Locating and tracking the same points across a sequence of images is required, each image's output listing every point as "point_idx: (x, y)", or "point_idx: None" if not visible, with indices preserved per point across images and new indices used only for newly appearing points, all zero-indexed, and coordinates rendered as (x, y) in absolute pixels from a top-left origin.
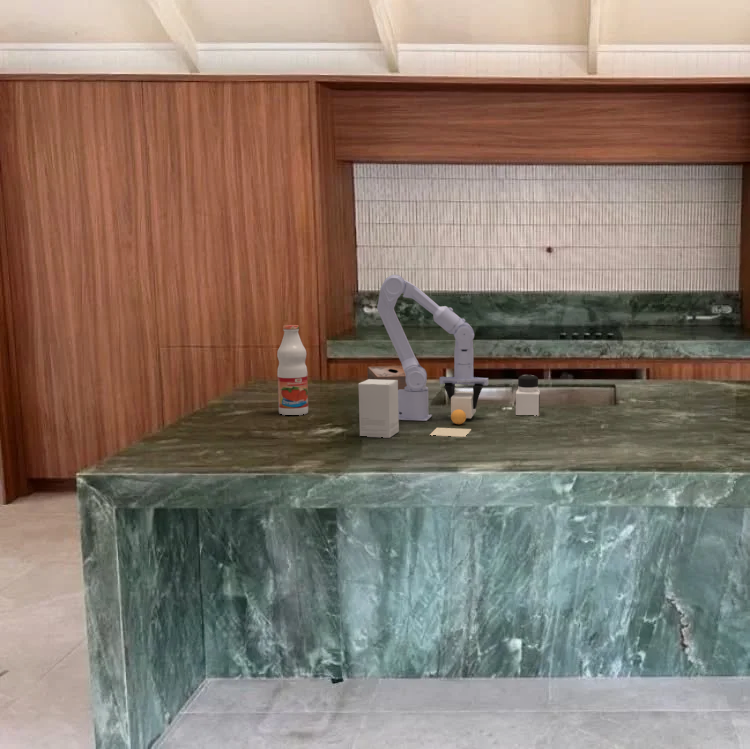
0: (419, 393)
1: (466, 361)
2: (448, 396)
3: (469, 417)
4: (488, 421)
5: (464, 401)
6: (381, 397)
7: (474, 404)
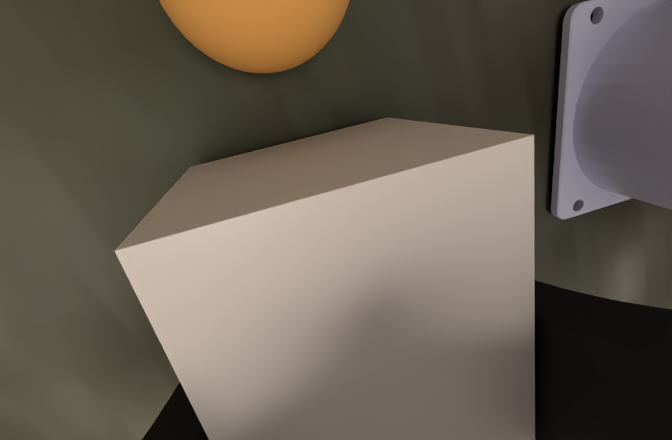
0: None
1: None
2: (579, 294)
3: (205, 163)
4: (58, 255)
5: (263, 190)
6: None
7: None
